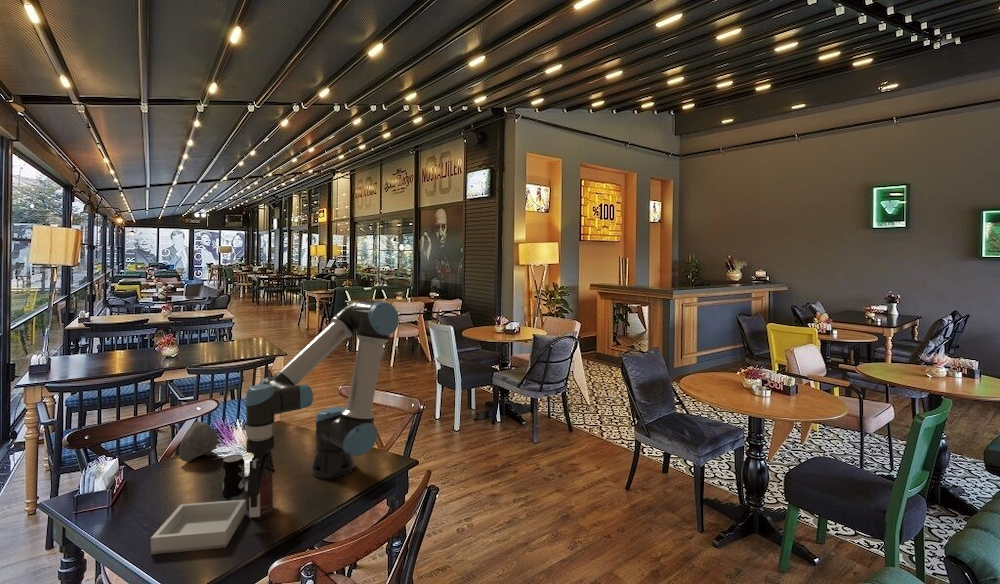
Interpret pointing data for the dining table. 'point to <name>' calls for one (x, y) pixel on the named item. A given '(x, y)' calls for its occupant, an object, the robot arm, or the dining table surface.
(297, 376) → the robot arm
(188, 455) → the decorative stone
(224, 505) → the bus tub
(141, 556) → the dining table surface
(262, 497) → the can
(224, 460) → the beverage can
